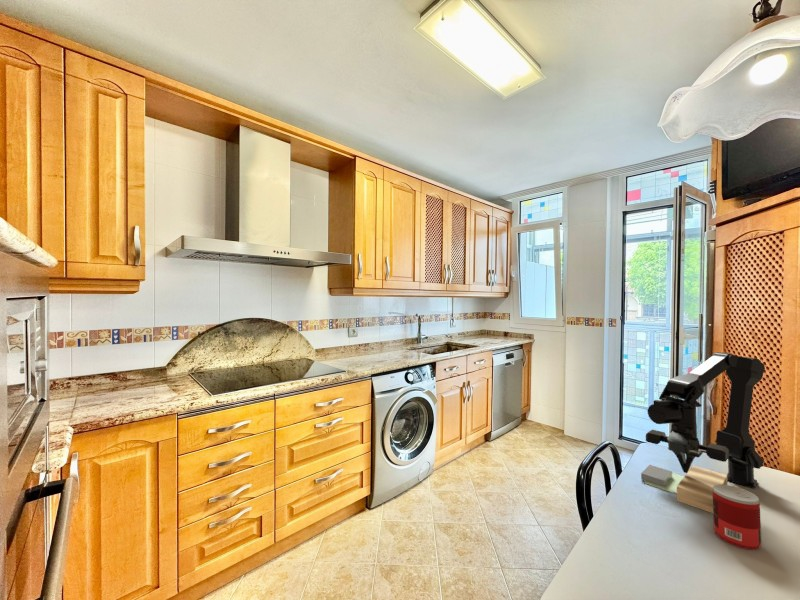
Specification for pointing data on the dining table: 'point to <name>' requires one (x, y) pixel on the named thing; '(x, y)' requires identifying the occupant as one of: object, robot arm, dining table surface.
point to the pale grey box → (656, 475)
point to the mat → (671, 485)
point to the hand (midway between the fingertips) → (685, 472)
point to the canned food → (737, 516)
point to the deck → (699, 487)
